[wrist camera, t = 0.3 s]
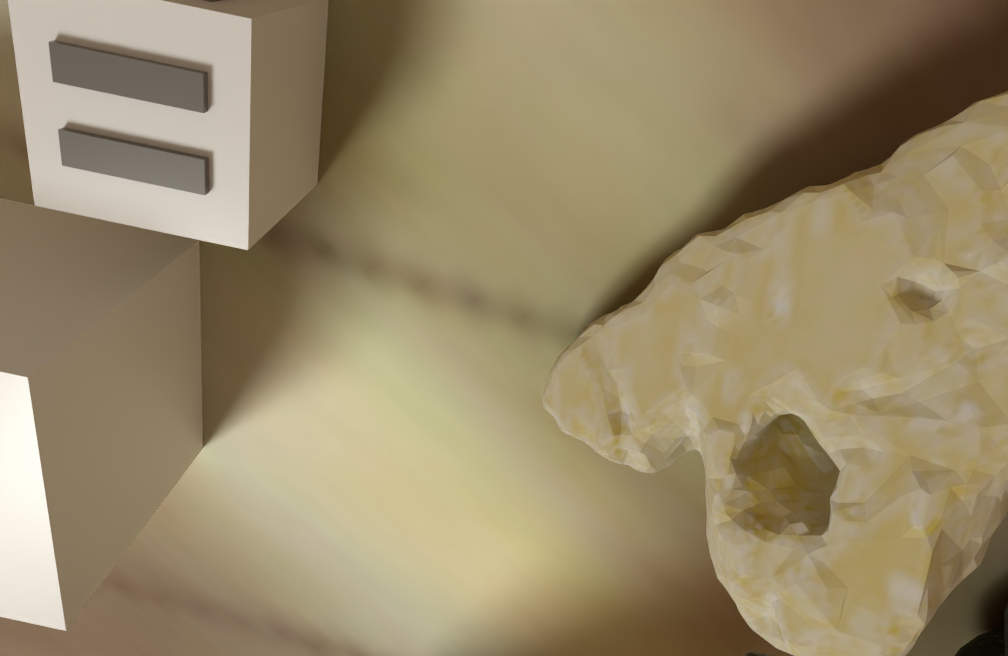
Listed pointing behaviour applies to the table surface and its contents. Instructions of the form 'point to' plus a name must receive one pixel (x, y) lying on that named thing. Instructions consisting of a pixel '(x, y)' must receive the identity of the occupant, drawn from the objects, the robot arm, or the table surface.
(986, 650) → the squash
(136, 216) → the white marked cube
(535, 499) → the table surface
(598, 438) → the cheese
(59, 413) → the plain grey block
